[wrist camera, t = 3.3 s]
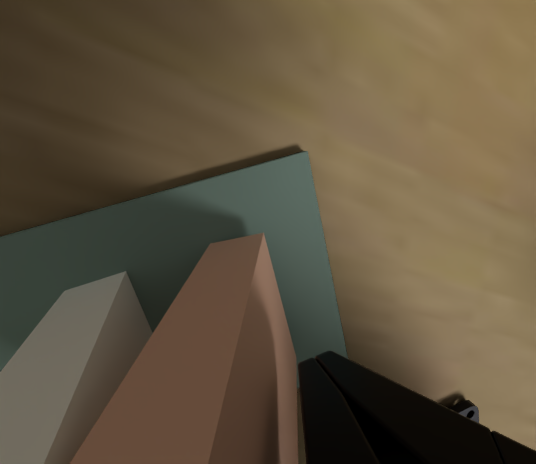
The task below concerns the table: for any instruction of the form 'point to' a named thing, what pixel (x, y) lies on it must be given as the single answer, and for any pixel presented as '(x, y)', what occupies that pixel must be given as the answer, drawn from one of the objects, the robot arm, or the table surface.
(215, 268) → the domino
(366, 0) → the table surface
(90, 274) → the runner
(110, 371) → the domino
